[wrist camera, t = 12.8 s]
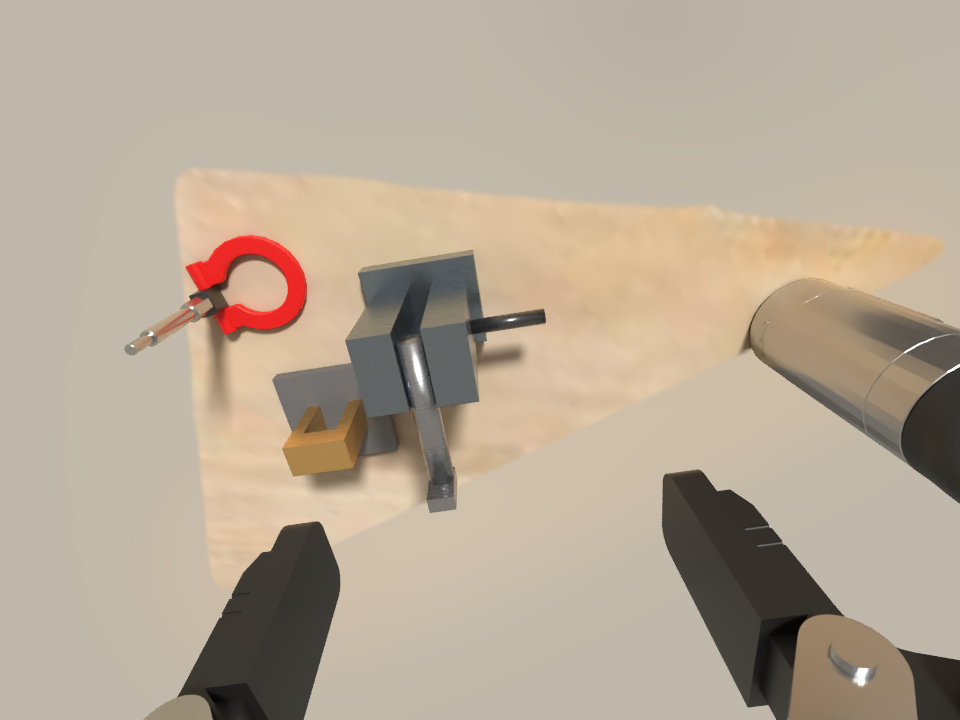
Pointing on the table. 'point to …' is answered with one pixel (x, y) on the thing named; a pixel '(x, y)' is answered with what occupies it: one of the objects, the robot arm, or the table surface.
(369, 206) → the table surface
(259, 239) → the tow hook
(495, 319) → the vise
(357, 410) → the ochre slotted block
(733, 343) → the table surface
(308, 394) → the rubber mat
